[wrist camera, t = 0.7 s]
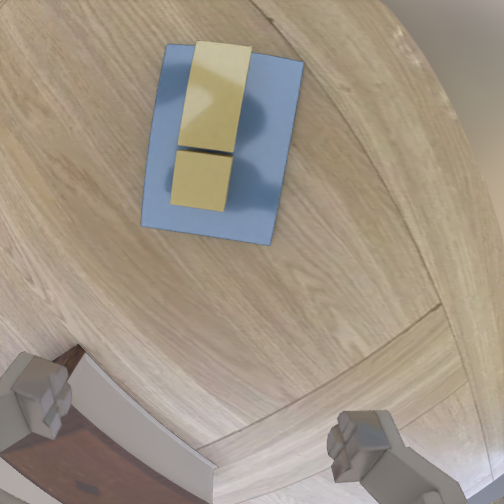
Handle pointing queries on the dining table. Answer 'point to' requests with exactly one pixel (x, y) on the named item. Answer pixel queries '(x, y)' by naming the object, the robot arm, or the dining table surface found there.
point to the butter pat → (201, 179)
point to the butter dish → (246, 161)
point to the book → (110, 449)
